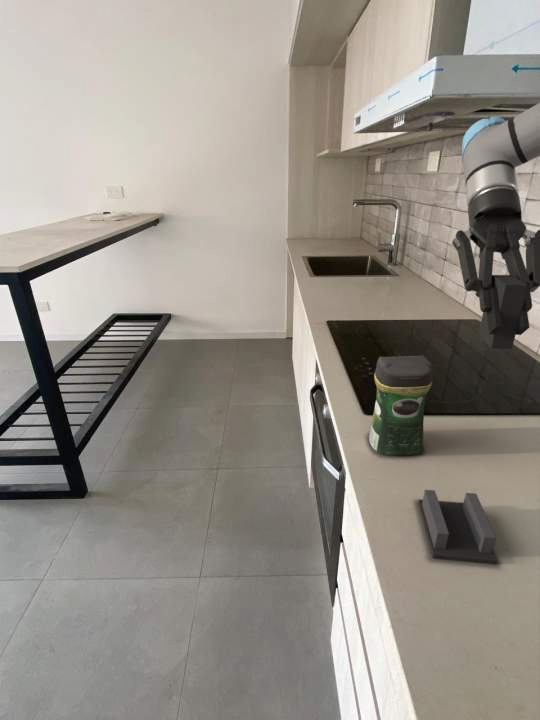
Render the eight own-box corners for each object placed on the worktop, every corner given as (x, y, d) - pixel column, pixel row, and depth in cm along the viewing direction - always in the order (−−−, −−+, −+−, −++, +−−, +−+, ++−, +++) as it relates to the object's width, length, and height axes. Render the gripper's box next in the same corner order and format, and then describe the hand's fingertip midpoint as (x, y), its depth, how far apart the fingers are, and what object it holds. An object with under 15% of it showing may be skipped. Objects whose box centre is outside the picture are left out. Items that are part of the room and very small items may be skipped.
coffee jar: (412, 432, 80) (425, 348, 72) (426, 458, 72) (442, 367, 64) (364, 433, 80) (372, 349, 72) (373, 459, 73) (383, 369, 65)
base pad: (470, 509, 61) (476, 488, 60) (494, 566, 52) (502, 544, 51) (417, 504, 62) (421, 484, 61) (432, 560, 54) (436, 538, 52)
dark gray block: (497, 334, 66) (511, 274, 61) (512, 349, 60) (528, 284, 56) (478, 334, 66) (490, 274, 62) (491, 348, 61) (505, 284, 56)
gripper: (533, 216, 68) (554, 342, 61) (436, 218, 71) (444, 339, 63) (557, 183, 61) (584, 321, 54) (448, 186, 64) (459, 318, 56)
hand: (508, 330), depth 58 cm, fingers closed on dark gray block, 3 cm apart
